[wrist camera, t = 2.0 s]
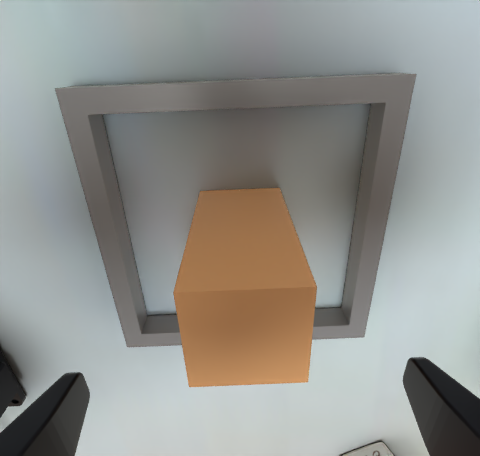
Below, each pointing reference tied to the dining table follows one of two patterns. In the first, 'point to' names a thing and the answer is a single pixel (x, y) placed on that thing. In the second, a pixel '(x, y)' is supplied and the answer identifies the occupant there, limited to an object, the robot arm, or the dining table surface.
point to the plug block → (244, 292)
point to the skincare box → (371, 450)
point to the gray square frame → (238, 97)
